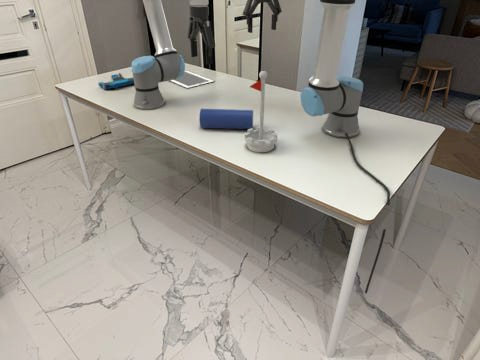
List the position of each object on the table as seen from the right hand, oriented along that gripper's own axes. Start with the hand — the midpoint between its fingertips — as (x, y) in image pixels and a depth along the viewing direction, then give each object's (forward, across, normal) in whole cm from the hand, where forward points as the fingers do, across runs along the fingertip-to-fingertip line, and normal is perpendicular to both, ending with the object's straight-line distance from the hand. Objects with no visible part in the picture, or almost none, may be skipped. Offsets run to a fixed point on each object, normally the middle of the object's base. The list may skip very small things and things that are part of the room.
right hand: (262, 31), depth 159 cm
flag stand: (+36, +28, +40) cm, 60 cm away
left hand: (+8, +34, +2) cm, 35 cm away
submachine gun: (+35, +48, -76) cm, 96 cm away
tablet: (+35, +14, -60) cm, 71 cm away
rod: (+36, +30, +17) cm, 50 cm away
